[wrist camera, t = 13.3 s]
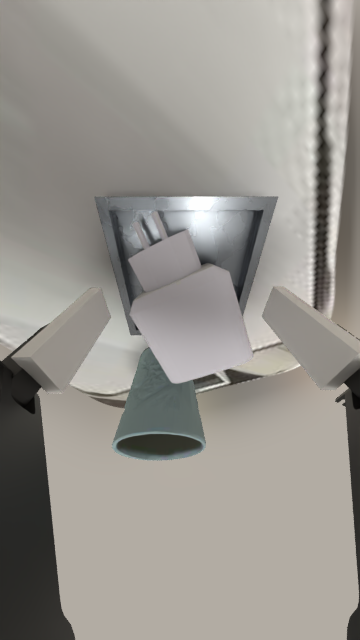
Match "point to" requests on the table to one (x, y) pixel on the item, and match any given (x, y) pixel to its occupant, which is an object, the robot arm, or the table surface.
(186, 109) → the table surface
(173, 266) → the charger
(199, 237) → the gray square tray
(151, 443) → the green cup
